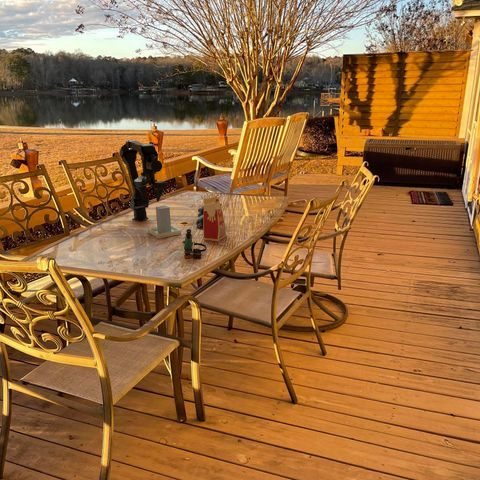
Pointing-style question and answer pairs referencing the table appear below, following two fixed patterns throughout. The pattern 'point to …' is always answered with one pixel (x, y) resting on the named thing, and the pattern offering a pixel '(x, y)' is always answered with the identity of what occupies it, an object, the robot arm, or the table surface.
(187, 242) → the binoculars
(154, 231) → the tray
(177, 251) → the butter knife
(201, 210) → the lucky cat figurine
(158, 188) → the robot arm
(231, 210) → the table surface
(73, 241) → the table surface
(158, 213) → the post
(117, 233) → the table surface
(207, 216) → the milk carton
